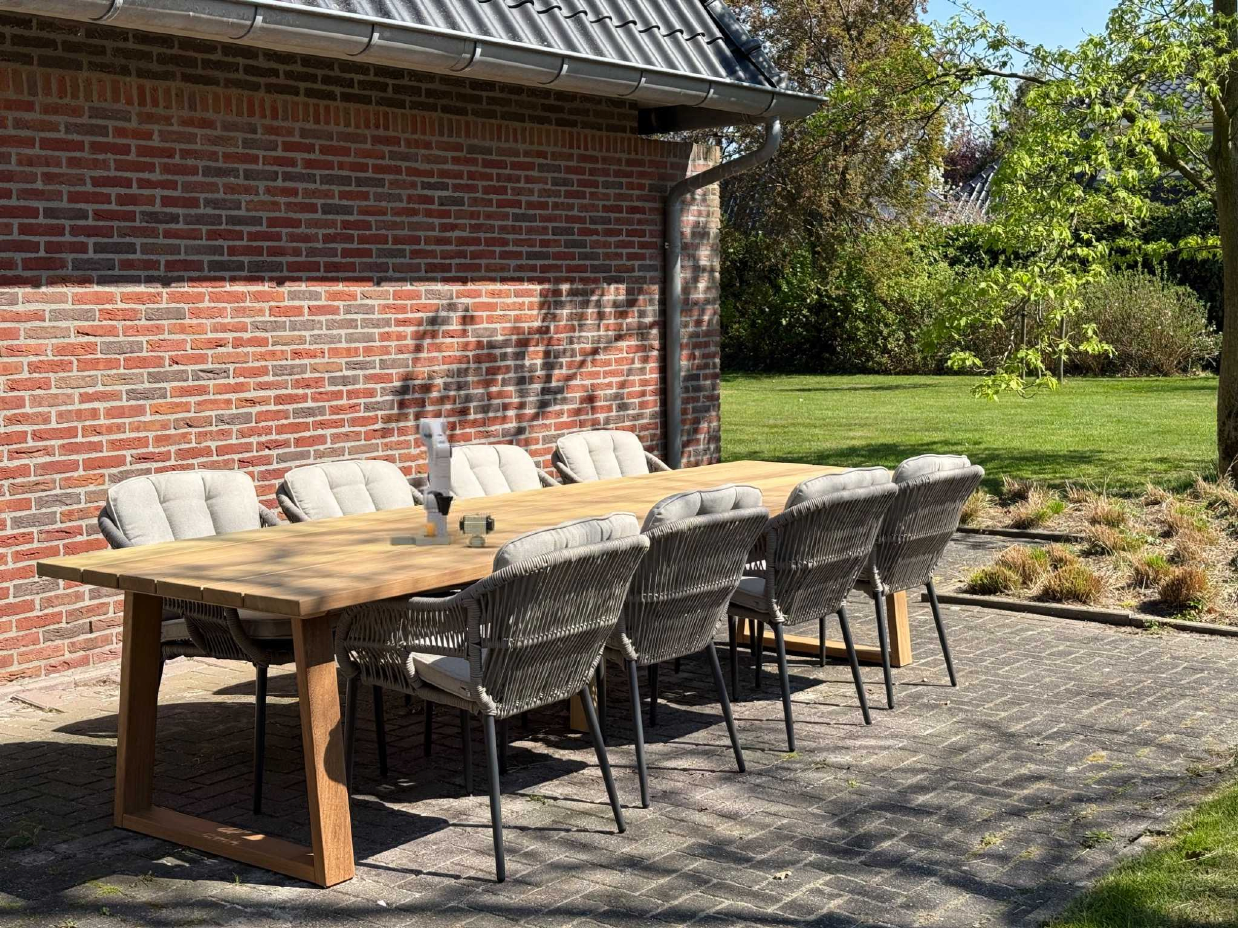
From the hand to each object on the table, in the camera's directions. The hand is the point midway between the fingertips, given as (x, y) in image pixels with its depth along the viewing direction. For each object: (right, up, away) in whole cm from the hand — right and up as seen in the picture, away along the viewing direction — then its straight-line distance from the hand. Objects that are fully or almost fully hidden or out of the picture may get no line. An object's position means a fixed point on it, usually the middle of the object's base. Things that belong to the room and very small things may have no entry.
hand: (443, 514), depth 536 cm
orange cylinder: (-4, -10, -3) cm, 11 cm away
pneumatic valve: (+13, -11, -13) cm, 22 cm away
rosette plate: (-8, -10, -4) cm, 14 cm away
